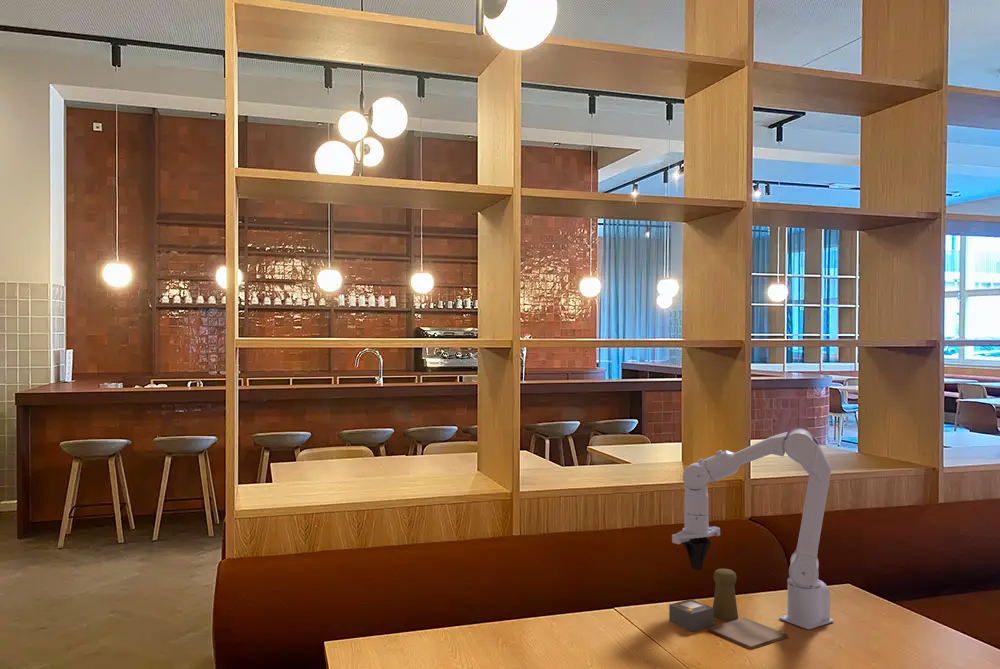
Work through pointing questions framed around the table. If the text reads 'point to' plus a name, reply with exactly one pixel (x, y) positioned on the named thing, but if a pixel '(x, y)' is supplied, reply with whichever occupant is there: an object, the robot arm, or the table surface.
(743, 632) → the coaster
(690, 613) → the switch box
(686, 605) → the button
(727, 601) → the olive green pawn
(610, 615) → the table surface
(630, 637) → the table surface
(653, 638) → the table surface
